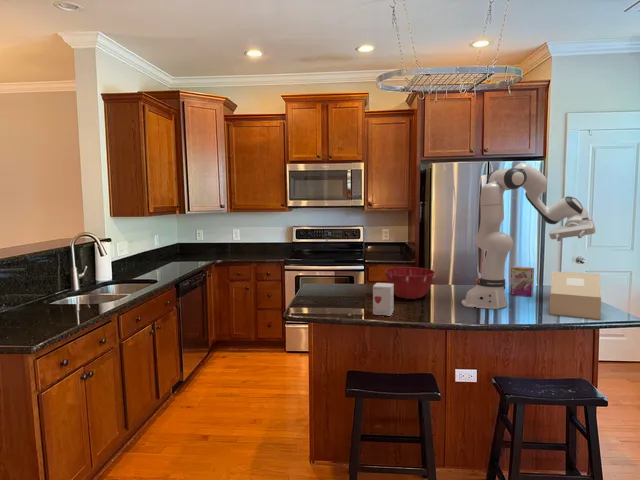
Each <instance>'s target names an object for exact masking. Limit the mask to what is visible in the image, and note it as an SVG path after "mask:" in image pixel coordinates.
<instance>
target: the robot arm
mask: <svg viewBox="0 0 640 480" xmlns="http://www.w3.org/2000/svg"><path fill="white" fill-rule="evenodd" d="M547 185H548V180H547V177H546V176H545V175H544V174H543V173H542V172H541V171H540V170H538V169H537V168H535V167H534V166H532V165H530V164H527V163H525V162H520V163H517V164H516V165H515V166H514V167H513V168H511V167H510V168H501V169H496V170H493V171H491V172H490V173H489V174H488V176H487V177H486V182H485V184H484V185H483V186H482V187H481V191H480V200H479V203H480V224H479V228H478V232H477V234H476V236H475V239H474V242H475V246H477V247H478V248H479V249H481V250H482V251H486V254H485V258H484V259H483V261H482V263H481V277H476V278H475V281H476V282H477V284H476V285H475V286H474V287H472V288H470V289H469V290H468V291H467V292H466V296H465V299H462V300H461V305H462V306H464V307H466V308H474V307H476V308H477V309H486V310H487V309H488V310H499V309H502V308H506V307H508V304H507V303H508V302H507V298H506V293H505V292H506V291H505V290H506V279H505V272H506V271H505V269H506V267H505V266H506V260H507V257H508V254H509V252H511V250H512V249H513V247H514V240H513V238H512V236H511V235H509V234H507V233H505V232H502V231H500V230H501V229H500V228H501V225H502V223H503V221H504V219H505V211H504V193H505V191H510V190H517V189H519V188H523V189H524V190H525V194H524V195H525V198H526V200H527V201H528V202H529V203H530V205H532V207H533V208H534V209H535V210H536V211H537V213H538V214H539V215H540V216H541V217H542V219H543V221H544V222H545V223H546V224H550V225H556V224H558V223H560V222H561V221H563V220H564V219H566V218H567V219H566V221H565V223H564V225H563V226H558V227H553V228H552V229H551V230H550V232H549V233H548V235H549V238H550V239H551V240H556V241H557V242H562V239H567V238H575V237H577V239H582V238H583V237H585V236H589V235H594V234H595V233H596V226H595V223H594V221H593V219H592V217H589V212H588V211H587V210H586V208H585V207H583V205H582V203H581V202H580V201H579V200H578V199H577V198H576V197H573V196H569V195H568V196H567V195H566V196H565V197H563V198H561V199H559V200H558V201H556V202H555V203H553V204H550V205H548V206H547V205H545V203H544V202H543V200H541V199H540V197H542V196H541V195H542V194H543V193H544V192H545V191H546V189H547V187H548V186H547Z"/></svg>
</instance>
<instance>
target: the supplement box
mask: <svg viewBox="0 0 640 480" xmlns="http://www.w3.org/2000/svg"><path fill="white" fill-rule="evenodd" d="M394 295H395V294H394V284H390V283H388V282H376V283H375V284H373V286H372V315H373V314H375V315H387V316H391V315H392V316H393V314H394V313H393V311H394V309H395V308H394V304H395V303H394V302H395V301H394ZM394 312H395V311H394ZM392 313H393V314H392ZM392 316H391V317H392Z"/></svg>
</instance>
